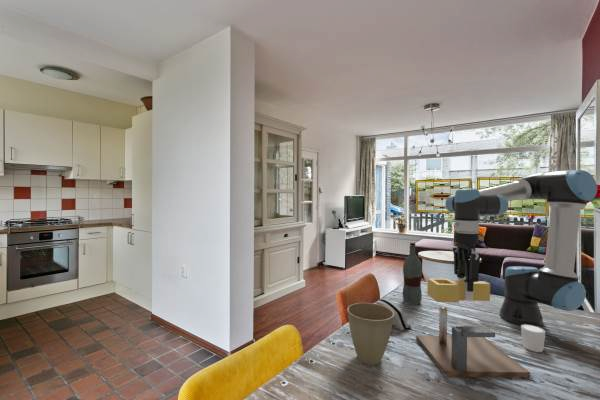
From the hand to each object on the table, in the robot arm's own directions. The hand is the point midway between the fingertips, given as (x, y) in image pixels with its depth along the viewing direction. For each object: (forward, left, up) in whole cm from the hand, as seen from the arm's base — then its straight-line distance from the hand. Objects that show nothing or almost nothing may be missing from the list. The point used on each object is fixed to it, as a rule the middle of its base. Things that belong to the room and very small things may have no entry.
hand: (465, 297), depth 102 cm
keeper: (+6, +15, -18) cm, 24 cm away
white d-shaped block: (+19, -21, -18) cm, 34 cm away
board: (+3, +6, -18) cm, 19 cm away
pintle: (+8, 0, -18) cm, 19 cm away
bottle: (+2, -44, -18) cm, 48 cm away
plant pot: (+36, +8, -18) cm, 41 cm away
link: (+2, 0, 0) cm, 2 cm away
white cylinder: (-24, 0, -18) cm, 30 cm away
